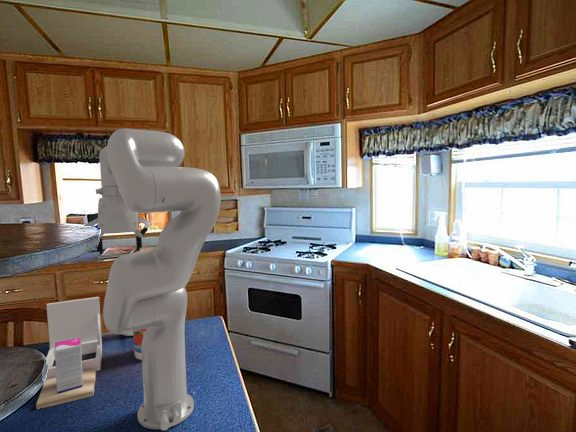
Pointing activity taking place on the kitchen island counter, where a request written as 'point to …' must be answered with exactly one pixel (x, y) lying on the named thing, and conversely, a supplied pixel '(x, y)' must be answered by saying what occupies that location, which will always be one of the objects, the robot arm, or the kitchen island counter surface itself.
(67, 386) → the supplement box
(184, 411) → the robot arm
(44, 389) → the pine board
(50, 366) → the case
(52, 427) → the kitchen island counter surface
